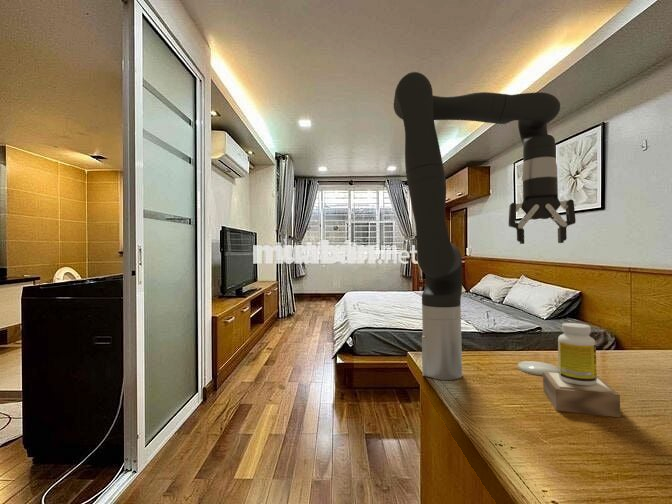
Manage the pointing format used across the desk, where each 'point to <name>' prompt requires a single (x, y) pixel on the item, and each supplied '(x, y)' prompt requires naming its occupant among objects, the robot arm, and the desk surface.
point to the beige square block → (581, 396)
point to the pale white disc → (537, 367)
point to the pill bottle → (577, 355)
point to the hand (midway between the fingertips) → (541, 243)
